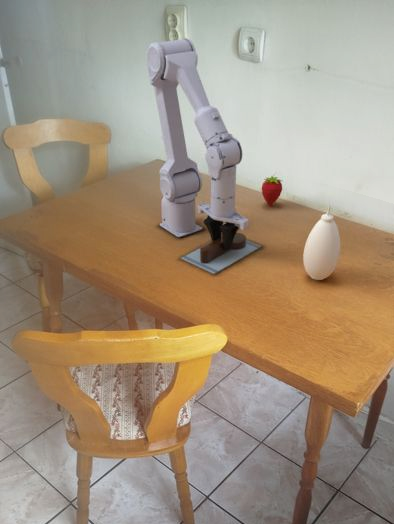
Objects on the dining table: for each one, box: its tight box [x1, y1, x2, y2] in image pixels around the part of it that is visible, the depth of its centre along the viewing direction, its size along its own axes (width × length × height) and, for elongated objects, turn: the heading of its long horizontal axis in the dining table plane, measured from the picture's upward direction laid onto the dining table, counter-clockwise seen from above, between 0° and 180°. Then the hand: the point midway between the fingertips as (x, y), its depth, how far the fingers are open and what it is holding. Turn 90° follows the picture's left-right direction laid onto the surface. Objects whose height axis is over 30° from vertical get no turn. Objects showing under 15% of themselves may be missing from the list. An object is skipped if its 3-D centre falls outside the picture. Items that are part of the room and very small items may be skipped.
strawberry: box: [261, 172, 283, 207], centre depth 145 cm, size 6×8×10 cm
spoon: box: [199, 232, 247, 264], centre depth 125 cm, size 15×6×3 cm, turn 137°
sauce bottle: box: [302, 203, 341, 281], centre depth 111 cm, size 8×8×18 cm
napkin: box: [180, 239, 262, 275], centre depth 126 cm, size 11×18×1 cm, turn 137°
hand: (221, 247), depth 125 cm, fingers open, 3 cm apart
